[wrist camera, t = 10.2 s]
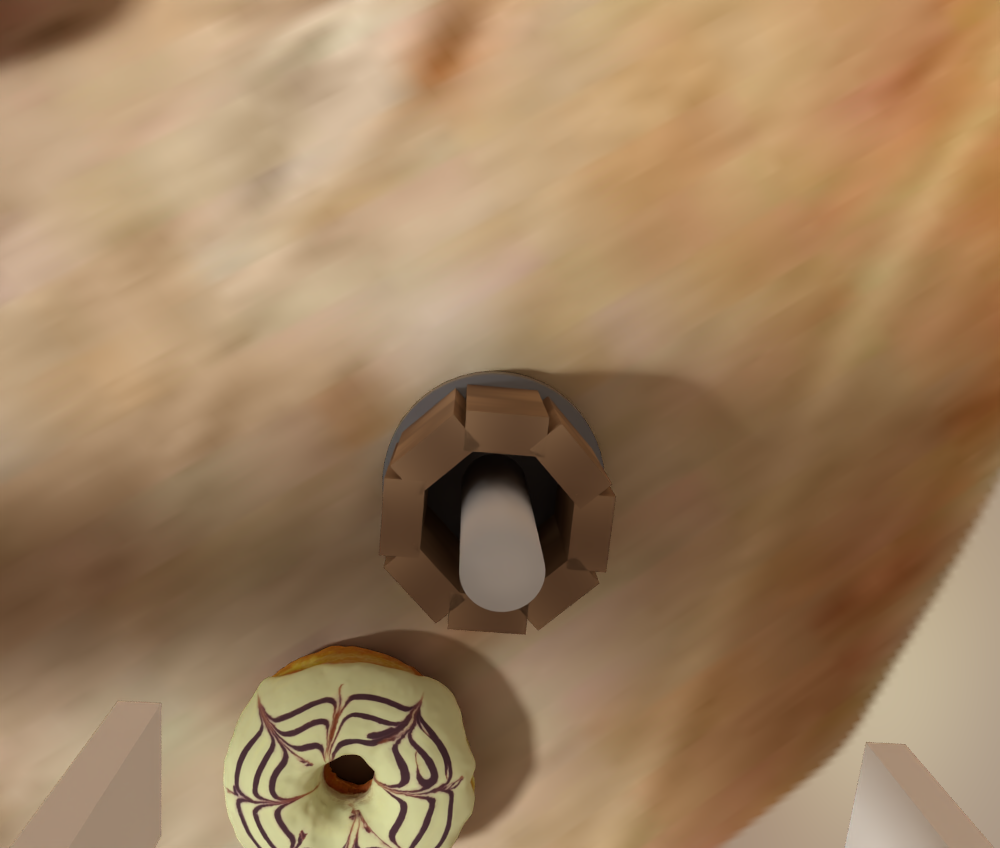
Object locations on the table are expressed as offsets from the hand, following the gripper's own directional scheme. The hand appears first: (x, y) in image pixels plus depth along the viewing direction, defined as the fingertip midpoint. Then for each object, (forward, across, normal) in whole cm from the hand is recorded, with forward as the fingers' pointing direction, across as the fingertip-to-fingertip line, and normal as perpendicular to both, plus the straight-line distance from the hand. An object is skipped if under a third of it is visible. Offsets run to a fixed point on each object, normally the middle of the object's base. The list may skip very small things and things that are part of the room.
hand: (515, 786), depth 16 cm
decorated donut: (+21, -5, -13) cm, 25 cm away
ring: (+19, 0, 0) cm, 19 cm away
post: (+20, 0, 0) cm, 20 cm away
